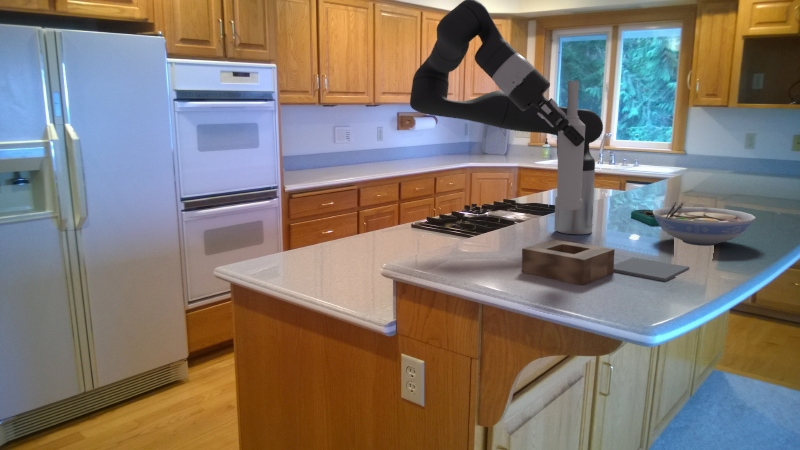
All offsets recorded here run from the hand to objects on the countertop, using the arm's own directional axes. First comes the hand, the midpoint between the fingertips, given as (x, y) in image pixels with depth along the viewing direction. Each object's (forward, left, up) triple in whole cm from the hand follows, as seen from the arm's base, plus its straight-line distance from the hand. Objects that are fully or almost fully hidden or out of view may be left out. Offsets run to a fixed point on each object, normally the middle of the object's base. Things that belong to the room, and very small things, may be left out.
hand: (580, 142), depth 114 cm
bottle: (-2, -1, -13) cm, 13 cm away
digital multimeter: (-14, +68, -27) cm, 75 cm away
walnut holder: (-1, -1, -27) cm, 27 cm away
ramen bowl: (+8, +46, -27) cm, 54 cm away
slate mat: (+10, +12, -27) cm, 31 cm away
